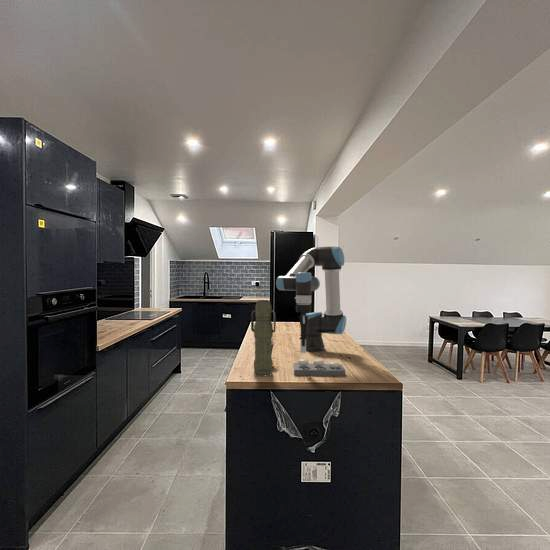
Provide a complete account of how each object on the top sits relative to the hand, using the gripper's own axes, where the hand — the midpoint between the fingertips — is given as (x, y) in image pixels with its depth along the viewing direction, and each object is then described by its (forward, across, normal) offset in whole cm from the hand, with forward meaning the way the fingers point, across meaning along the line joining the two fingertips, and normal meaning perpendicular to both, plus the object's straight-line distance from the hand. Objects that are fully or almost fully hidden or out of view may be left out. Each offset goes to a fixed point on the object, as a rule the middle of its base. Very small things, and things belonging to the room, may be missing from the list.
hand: (303, 352), depth 175 cm
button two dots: (+8, 0, 0) cm, 8 cm away
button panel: (+10, 0, +8) cm, 12 cm away
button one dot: (+9, 0, +15) cm, 17 cm away
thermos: (+10, +4, -19) cm, 22 cm away
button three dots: (+8, 0, +8) cm, 11 cm away
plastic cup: (+10, -14, -20) cm, 26 cm away
